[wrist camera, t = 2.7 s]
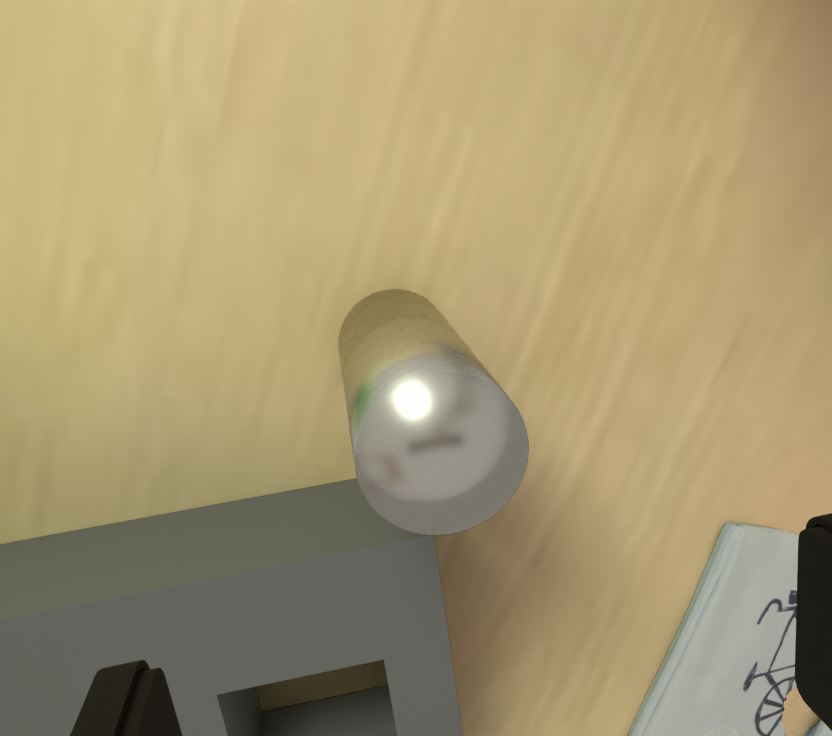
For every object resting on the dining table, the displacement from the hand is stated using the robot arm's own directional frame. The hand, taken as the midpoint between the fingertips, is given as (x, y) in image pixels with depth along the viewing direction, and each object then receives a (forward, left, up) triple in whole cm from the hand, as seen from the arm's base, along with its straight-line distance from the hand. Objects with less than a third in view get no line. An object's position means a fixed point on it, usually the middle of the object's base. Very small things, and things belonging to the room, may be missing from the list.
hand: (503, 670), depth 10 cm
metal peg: (0, 0, -16) cm, 16 cm away
